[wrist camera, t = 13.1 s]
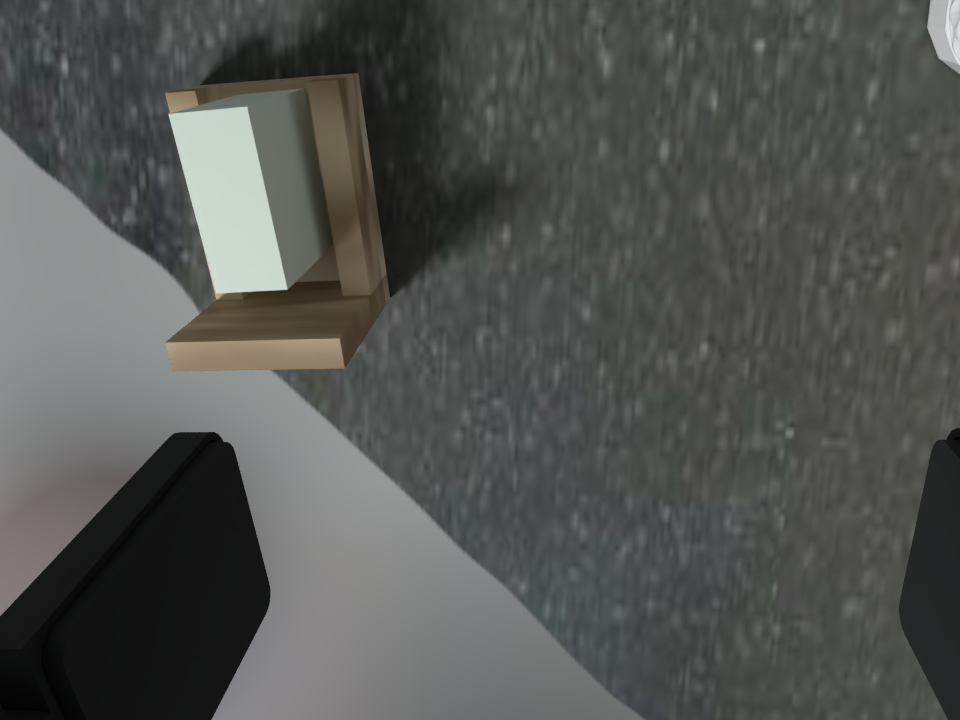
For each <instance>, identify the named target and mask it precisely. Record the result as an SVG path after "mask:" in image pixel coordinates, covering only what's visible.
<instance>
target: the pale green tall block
mask: <svg viewBox="0 0 960 720" xmlns="http://www.w3.org/2000/svg"><path fill="white" fill-rule="evenodd" d="M169 118H170V122H171V126H172V129H173V133H174V137H175V141H176V144H177V148H178V152H179V156H180V159H181V163H182V167H183V171H184V174H185V178H186V182H187V186H188V190H189V193H190V197H191V201H192V205H193V208H194V212H195V216H196V220H197V223H198V227H199V231H200V235H201V239H202V242H203V246H204V250H205V254H206V257H207V261H208V265H209V269H210V272H211V276H212V280H213V284H214V287H215V291H216V293H235V292H254V291H273V290H288V289H289V288H290V287H291V286H292V285H293V284H294V283H295V282H296V281H297V280H298V279H299V278H300V277H301V276H302V275H303V274H304V273H305V272H306V271H307V270H308V269H309V268H310V267H311V266H312V265H313V264H314V263H315V262H316V261H317V260H318V259H319V258H320V257H321V256H322V255H323V254H324V253H325V252H326V251H327V250H329V249H330V248H331V247H332V246H333V245H334V244H333V239H332V234H331V228H330V223H329V218H328V212H327V207H326V202H325V196H324V191H323V186H322V181H321V175H320V170H319V165H318V159H317V154H316V149H315V143H314V138H313V133H312V127H311V122H310V117H309V112H308V106H307V101H306V96H305V90H304V88H302V89H292V90H282V91H271V92H261V93H251V94H240V95H235V96H231V97H228V98H224V99H221V100H217V101H213V102H210V103H206V104H203V105H199V106H195V107H192V108H188V109H185V110H181V111H177V112H174V113H170V114H169Z"/></svg>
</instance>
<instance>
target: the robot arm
mask: <svg viewBox="0 0 960 720" xmlns="http://www.w3.org/2000/svg"><path fill="white" fill-rule="evenodd" d="M269 602H270V585H269V581H268V577H267V573H266V569H265V565H264V562H263V558H262V554H261V550H260V547H259V542H258V539H257V535H256V531H255V527H254V523H253V520H252V516H251V512H250V508H249V504H248V501H247V496H246V493H245V489H244V485H243V481H242V477H241V474H240V470H239V466H238V462H237V458H236V455H235V451H234V449H233V447H232V445H231V444H230V443H228V442H223V440H222V438H221V437H220V436H219V435H218V434H217V433H215V432H180V433H174V434H173V435H172V436H171V437H169V438H168V439H167V440H166V441H165V442H164V444H163V445H162V446H161V447H160V448H159V449H158V450H157V451H156V452H155V453H154V454H153V455H152V456H151V457H150V458H149V459H148V460H147V462H146V463H145V464H144V465H143V466H142V467H141V468H140V469H139V470H138V471H137V472H136V473H135V474H134V475H133V476H132V478H131V479H130V480H129V481H128V482H127V483H126V484H125V485H124V486H123V487H122V488H121V489H120V490H119V491H118V492H117V493H116V494H115V495H114V497H113V498H112V499H111V500H110V501H109V502H108V503H107V504H106V505H105V506H104V507H103V508H102V509H101V510H100V511H99V512H98V513H97V515H96V516H95V517H94V518H93V519H92V520H91V521H90V522H89V523H88V524H87V525H86V526H85V527H84V528H83V530H81V531H80V533H79V534H78V535H77V536H76V537H75V538H74V539H73V540H72V541H71V542H70V543H69V544H68V545H67V546H66V547H65V549H63V551H62V552H61V553H60V554H59V555H58V556H57V557H56V558H55V559H54V560H53V561H52V562H51V563H50V564H49V565H48V566H47V568H46V569H45V570H44V571H43V572H42V573H41V574H40V575H39V576H38V577H37V578H36V579H35V580H34V581H33V582H32V583H31V584H30V586H29V587H28V588H27V589H26V590H25V591H24V592H23V593H22V594H21V595H20V596H19V597H18V598H17V599H16V600H15V601H14V603H13V604H12V605H11V606H10V607H9V608H8V609H7V610H6V611H5V612H4V613H3V614H2V615H1V616H0V720H211V719H212V717H213V715H214V713H215V712H216V710H217V708H218V706H219V704H220V702H221V700H222V698H223V696H224V694H225V692H226V690H227V688H228V686H229V684H230V682H231V681H232V679H233V677H234V675H235V673H236V671H237V669H238V667H239V665H240V663H241V661H242V659H243V657H244V655H245V653H246V651H247V650H248V647H249V646H250V644H251V642H252V640H253V638H254V636H255V634H256V632H257V630H258V628H259V626H260V624H261V622H262V620H263V618H264V617H265V615H266V612H267V610H268V607H269ZM899 614H900V621H901V625H902V629H903V631H904V634H905V636H906V638H907V640H908V642H909V644H910V646H911V648H912V650H913V652H914V654H915V656H916V657H917V659H918V661H919V663H920V665H921V667H922V669H923V671H924V673H925V675H926V677H927V679H928V681H929V683H930V685H931V687H932V689H933V691H934V693H935V695H936V697H937V699H938V701H939V703H940V705H941V707H942V709H943V711H944V713H945V715H946V717H947V719H948V720H960V428H956V429H954V430H952V431H951V433H950V434H949V436H948V437H947V440H938V441H936V443H935V444H934V445H933V448H932V451H931V456H930V461H929V465H928V470H927V475H926V480H925V484H924V489H923V494H922V499H921V503H920V508H919V513H918V518H917V522H916V527H915V532H914V537H913V541H912V546H911V551H910V556H909V560H908V565H907V570H906V575H905V579H904V584H903V589H902V594H901V598H900V605H899Z"/></svg>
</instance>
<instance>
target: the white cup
mask: <svg viewBox="0 0 960 720" xmlns="http://www.w3.org/2000/svg"><path fill="white" fill-rule="evenodd" d="M927 28H928V31H929V34H930V37H931V39H932V42H933V45H934V47H935V50H936V53H937V55H938V58H939V59H940V60H941V61H943V62H944V63H945V64H947V65H948V66H949V67H951V68H952V69H953V70H955V71H956V72H957V73H958V74H960V0H931V1H930V8H929V16H928V24H927Z"/></svg>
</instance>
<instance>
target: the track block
mask: <svg viewBox="0 0 960 720" xmlns="http://www.w3.org/2000/svg"><path fill="white" fill-rule="evenodd" d="M302 88H304V90H305V96H306V101H307V106H308V112H309V117H310V122H311V127H312V133H313V138H314V143H315V149H316V154H317V159H318V165H319V170H320V175H321V181H322V186H323V191H324V196H325V202H326V207H327V212H328V218H329V223H330V228H331V234H332V239H333V244H334V245H333V246H332V247H331V248H330V249H329V250H327V251H326V252H325V253H324V254H323V255H322V256H321V257H320V258H319V259H318V260H317V261H316V262H315V263H314V264H313V265H312V266H311V267H310V268H309V269H308V270H307V271H306V272H305V273H304V274H303V275H302V276H301V277H300V278H299V279H298V280H297V281H296V282H295V283H294V284H293V285H292V286H291V287H290V288H289V289H288V290H273V291H254V292H235V293H216V291H215V287H214V284H213V287H214V291H215V295H216V299H217V300H216V301H215V302H214V303H213V304H211V305H210V306H209V307H208V308H207V309H205V310H204V311H203V312H202V313H201V314H199V315H198V316H197V317H196V318H195V319H193V320H192V321H191V322H190V323H188V324H187V325H186V326H185V327H184V328H182V329H181V330H180V331H179V332H177V333H176V334H175V335H174V336H173V337H171V338H170V339H169V340H168V341H166V342H165V344H166V348H167V351H168V355H169V358H170V362H171V365H172V369H173V371H220V370H276V369H330V368H345V367H346V366H347V364H348V362H349V361H350V359H351V358H352V356H353V355H354V353H355V352H356V350H357V349H358V347H359V345H360V344H361V342H362V341H363V339H364V338H365V336H366V335H367V333H368V331H369V330H370V328H371V327H372V325H373V324H374V322H375V321H376V319H377V318H378V316H379V314H380V313H381V311H382V310H383V308H384V307H385V305H386V304H387V302H388V301H389V299H390V294H389V287H388V279H387V272H386V265H385V258H384V251H383V244H382V237H381V230H380V223H379V216H378V209H377V202H376V194H375V187H374V180H373V173H372V166H371V159H370V152H369V145H368V138H367V131H366V124H365V116H364V109H363V102H362V95H361V88H360V81H359V74H358V73H351V74H338V75H326V76H313V77H300V78H287V79H275V80H262V81H249V82H236V83H224V84H211V85H199V86H194V87H190V88H186V89H181V90H177V91H172V92H168V93H165V94H166V98H167V102H168V106H169V110H170V113H174V112H177V111H181V110H185V109H188V108H192V107H195V106H199V105H203V104H206V103H210V102H213V101H217V100H221V99H224V98H228V97H231V96H235V95H240V94H251V93H261V92H271V91H282V90H292V89H302ZM202 243H203V242H202ZM203 247H204V246H203ZM204 251H205V250H204ZM205 255H206V254H205ZM206 259H207V257H206ZM207 263H208V261H207ZM208 267H209V265H208ZM209 271H210V269H209ZM210 275H211V272H210ZM211 279H212V276H211ZM212 283H213V280H212Z"/></svg>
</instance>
